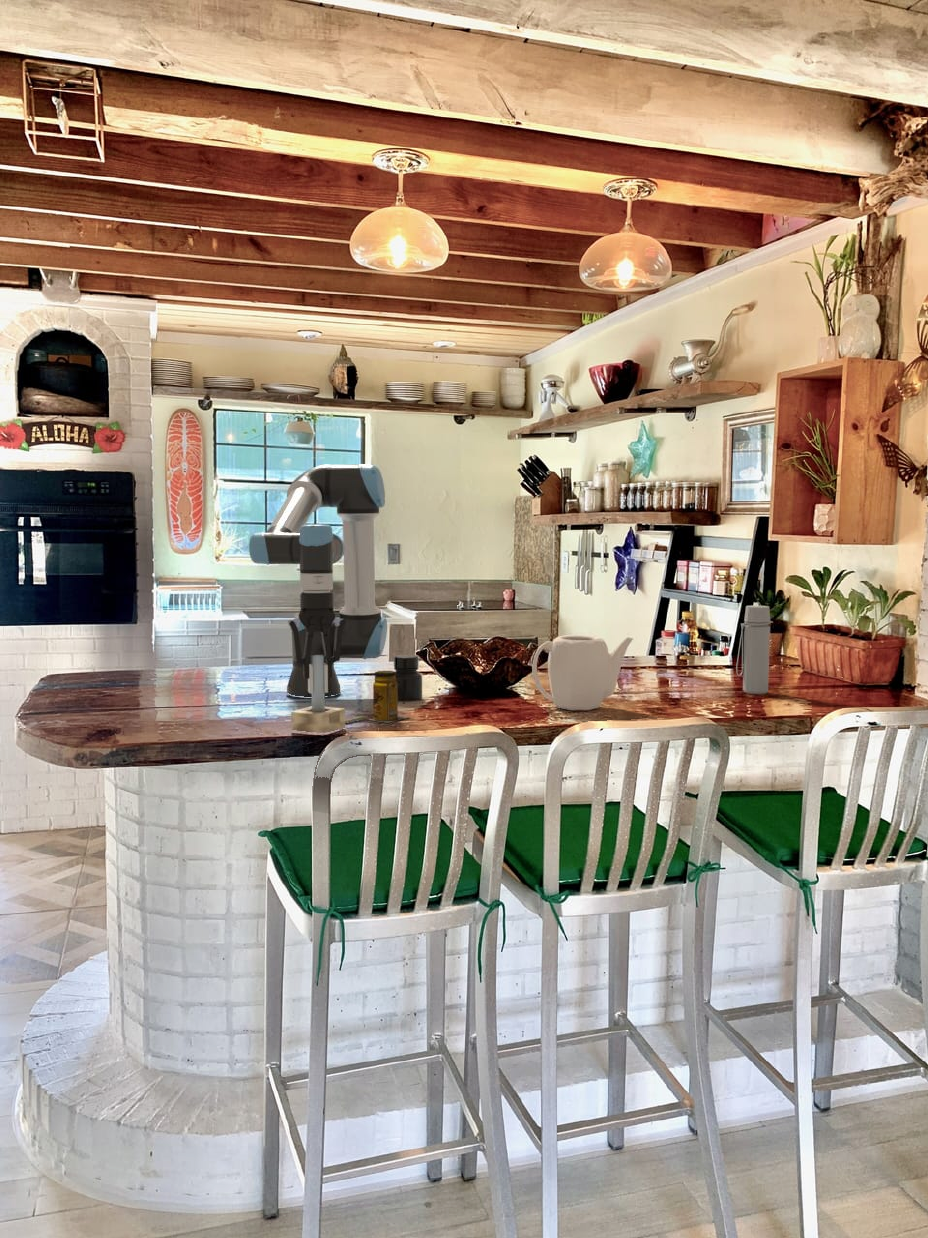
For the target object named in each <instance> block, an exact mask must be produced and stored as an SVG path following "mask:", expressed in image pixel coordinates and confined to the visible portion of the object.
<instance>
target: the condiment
mask: <svg viewBox="0 0 928 1238" xmlns="http://www.w3.org/2000/svg"><path fill="white" fill-rule="evenodd" d="M372 688H373V689H372V690H373V693H372V695H373V696H372V697H373V705H372V706H373V709H372V710H373V717H372V718H373V719H371V718H368V720H370V721H373V722H379V723H386V724H387V723H393V722H397V721H401V720H404V719H405V720H406V719H409V716H402V715H399V705H398V704H399V703H398V702H399V701H398V684H397V682H396V673H395V671H393V670H378V671H375V672H374V682H373V686H372Z"/></svg>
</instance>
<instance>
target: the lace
mask: <svg viewBox="0 0 928 1238" xmlns="http://www.w3.org/2000/svg"><path fill="white" fill-rule="evenodd" d="M363 719H365V720H367V716H366V715H359V716H357V717H356V716H355V717H351V718H347V719H345V723H347V722H353V721H357V720H361V721H364V720H363ZM357 722H358V721H357ZM353 723H354V722H353Z"/></svg>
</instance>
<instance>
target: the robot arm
mask: <svg viewBox="0 0 928 1238" xmlns="http://www.w3.org/2000/svg"><path fill="white" fill-rule="evenodd" d="M286 491H287V492H286V499H285V501H284V502H283V504H282V506H281V508H280V509H279V511H278V512H277V514H276V516H274V517H275V518H274V519H273V521H272V522H271V524H270V525H269V527H268V529H267V530H266V532H262V531H261V532H255V533H253V534H252V535H251V536H250V539H249V543H248V544H249V545H248V550H249V556H250V560H251V561H252V562H253V563H255V564H260V565H299V571H300V572H299V584H300V585H299V590H301V591H302V592H301V593H300V601H299V602H300V604H299V606H300V611H299V614H298V615H297V616H296V617H294V618H293V619H290V620H288V622H287V623H288V627H290V630H291V644H292V645H291V647H292V648H291V650H292V669H291V673H290V676H289V679H288V682H287V683H288V684H287V685H286V694H287V693H289V694H291V695H295V696H304V697H312V693H313V665H311V656H312V655H324V693H325V696H331V695H336V694H339V693H340V694H341V684H340V682H339V678H338V675H337V671H336V670H335V663H336V662H339V661H340V660H341V659H363V660H367V659H378V658H379V657H381V655H382V654H383V652H384V649H385V645H386V641H387V640H386V639H387V633H388V619H387V618H386V617H384V616H382V610H381V609H380V608H379V607H378V606H377V605H376V604H377V603H376V575H375V574H376V572H375V571H376V570H375V569H376V567H375V565H376V564H375V563H376V562H375V526H374V525H375V521H374V520H375V519H376V518H377V517H378V516H379V514H380V509H381V508H383V507H384V506H385V505H386V504H385V503H386V492H385V484H384V480H383V477H382V473H381V471H380V469H379V467H378V466H377V465H374V464H363V463H360V464H322V465H317V466H314V467H312V468H309V469H308V470H306V471H304V472H303V473H301V474H300V475H299V476H297V477H296V478H295V479H294V480H293V481H292V482H291V483H290V485H289V487H288V488H287V490H286ZM319 508H336V515H338V516H339V518H341V520H342V538H341V537H340V536H339V535H337V534H336V533H333V527H332V526H331V525H330V524H307V523H308V521H309V520H310V519H309V518H311V516H312V514H313V513H315V512H316V511H318V509H319ZM341 559H343V580H344V581H343V582H344V583H343V584H344V587H343V588H344V592H343V593H344V605H343V607H342V608H341V609H340V611H339V616H338V617H337V616H336V613H335V611H334V594H333V592H331V591H332V590H333V589H334V580H333V579H334V577H333V575H334V574H333V572H334V570H333V568H334V567H333V566H334V564H336V563H338V562H339V561H340V560H341ZM340 694H339V695H340Z"/></svg>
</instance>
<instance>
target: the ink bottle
mask: <svg viewBox="0 0 928 1238" xmlns="http://www.w3.org/2000/svg"><path fill="white" fill-rule="evenodd" d="M393 667H394V668H393V669H394V670H395V671H394V672H395V673H396V682H397V684H398V702H415V701H418V700H419V701H420V700H421V699H422V698H423V676H422V674H421V673H420V672H419V671H418V670H419V655H416V654H397V655H394V656H393Z"/></svg>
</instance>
